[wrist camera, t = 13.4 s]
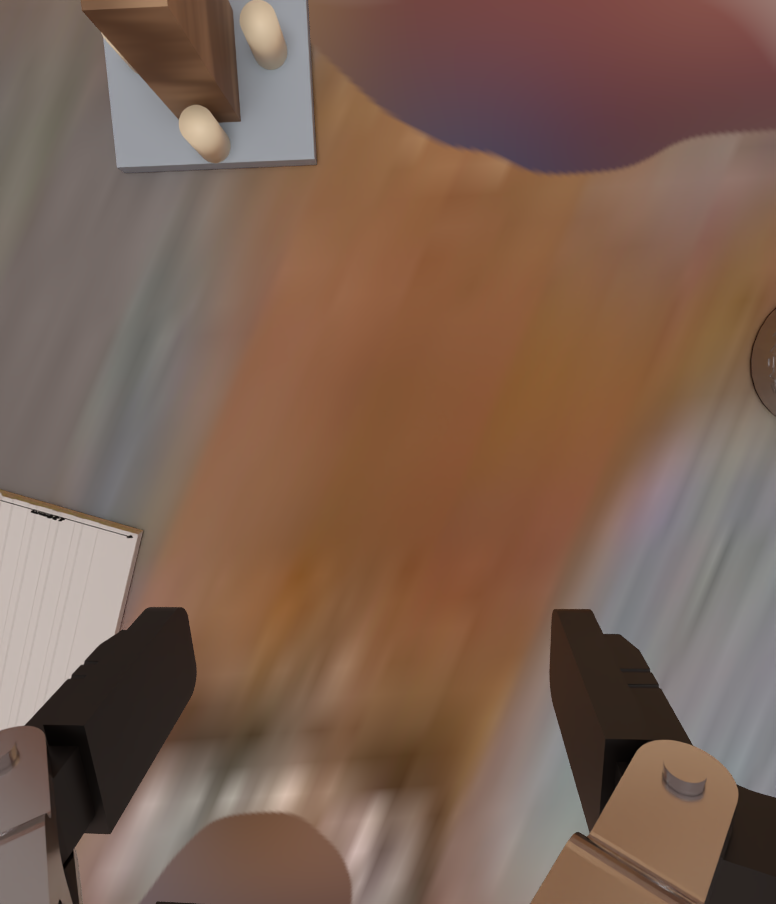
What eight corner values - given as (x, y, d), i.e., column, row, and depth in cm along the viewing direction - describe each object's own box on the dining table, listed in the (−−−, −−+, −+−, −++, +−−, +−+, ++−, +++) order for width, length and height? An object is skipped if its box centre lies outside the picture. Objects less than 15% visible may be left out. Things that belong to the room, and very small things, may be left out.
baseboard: (-92, 852, 44) (61, 890, 44) (-125, 887, 41) (38, 927, 41) (-22, 478, 39) (147, 526, 39) (-55, 488, 36) (129, 539, 36)
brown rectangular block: (232, 10, 33) (152, -167, 22) (240, 121, 34) (167, 6, 23) (173, 13, 33) (63, -162, 22) (182, 124, 34) (81, 10, 23)
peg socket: (305, -54, 33) (293, -111, 29) (316, 164, 35) (307, 139, 31) (102, -44, 33) (63, -99, 29) (124, 172, 35) (90, 148, 31)
